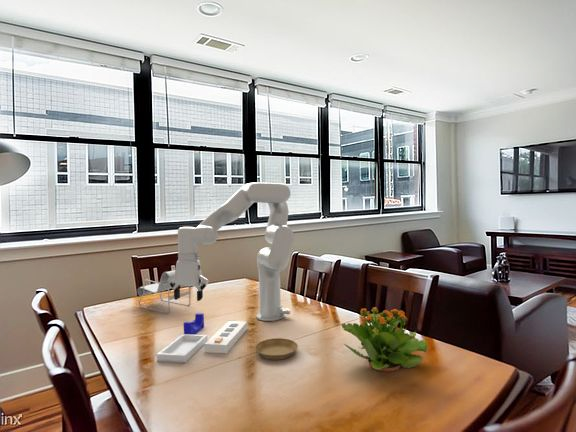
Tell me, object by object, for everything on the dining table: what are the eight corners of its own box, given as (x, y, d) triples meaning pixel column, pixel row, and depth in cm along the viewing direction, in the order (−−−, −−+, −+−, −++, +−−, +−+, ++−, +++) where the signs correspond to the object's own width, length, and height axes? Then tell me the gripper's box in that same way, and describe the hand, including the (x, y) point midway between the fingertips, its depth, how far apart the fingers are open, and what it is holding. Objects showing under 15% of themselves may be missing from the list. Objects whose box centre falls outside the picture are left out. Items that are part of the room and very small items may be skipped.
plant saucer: (249, 349, 128) (249, 342, 128) (287, 342, 134) (287, 335, 134) (263, 366, 114) (263, 358, 114) (305, 357, 120) (304, 350, 120)
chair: (170, 313, 171) (168, 273, 170) (137, 306, 184) (136, 268, 183) (191, 306, 182) (190, 268, 181) (159, 300, 195) (158, 264, 195)
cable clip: (194, 326, 152) (193, 313, 152) (204, 327, 151) (203, 313, 151) (180, 337, 140) (179, 322, 140) (191, 338, 140) (190, 323, 139)
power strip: (247, 328, 148) (247, 320, 148) (226, 353, 124) (226, 343, 124) (228, 328, 149) (228, 319, 149) (205, 352, 126) (204, 342, 126)
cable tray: (207, 341, 135) (207, 335, 135) (185, 363, 118) (184, 355, 117) (182, 340, 137) (182, 334, 137) (157, 361, 119) (156, 354, 119)
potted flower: (411, 394, 96) (410, 329, 95) (330, 373, 108) (329, 316, 108) (429, 358, 117) (429, 305, 116) (360, 344, 130) (359, 296, 129)
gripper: (211, 256, 147) (212, 298, 147) (172, 255, 150) (173, 296, 151) (204, 259, 139) (204, 303, 140) (163, 258, 143) (163, 301, 143)
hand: (188, 299), depth 145 cm, fingers open, 9 cm apart
